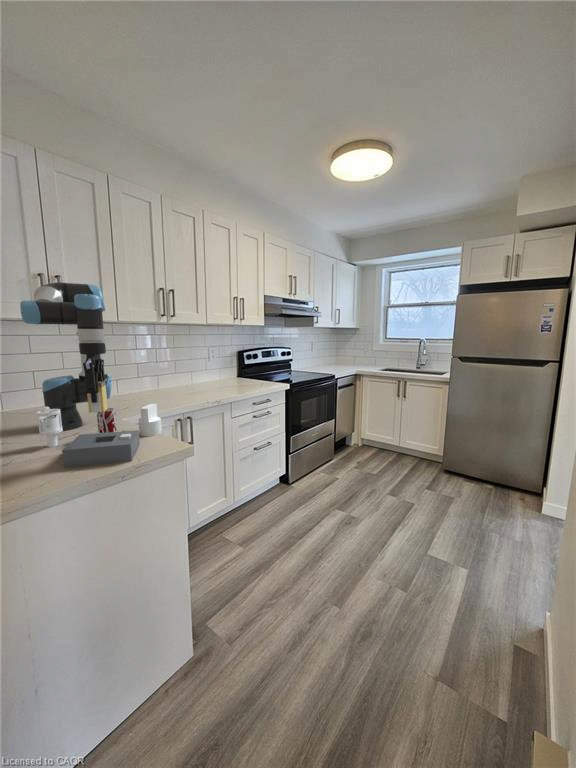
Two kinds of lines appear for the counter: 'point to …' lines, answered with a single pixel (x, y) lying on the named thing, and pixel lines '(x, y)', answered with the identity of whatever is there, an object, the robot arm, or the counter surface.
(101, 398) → the rectangular block
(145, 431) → the cylinder with rectangular tab
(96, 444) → the socket board
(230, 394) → the counter surface
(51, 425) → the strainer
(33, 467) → the counter surface
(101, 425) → the soda can
